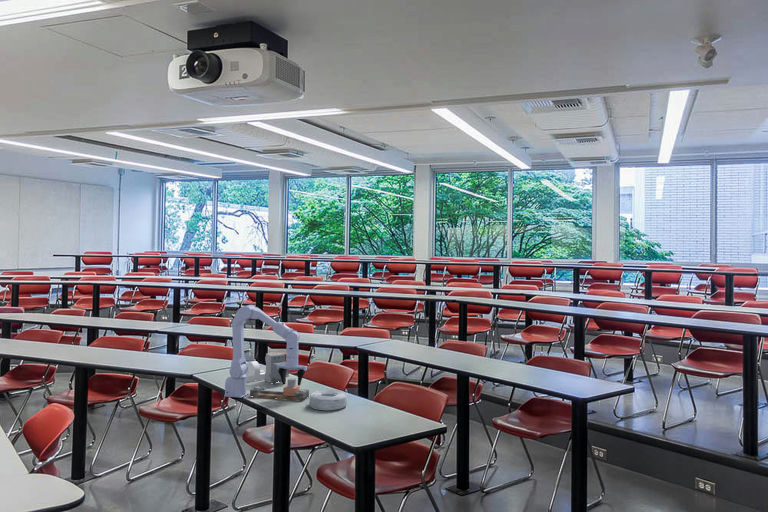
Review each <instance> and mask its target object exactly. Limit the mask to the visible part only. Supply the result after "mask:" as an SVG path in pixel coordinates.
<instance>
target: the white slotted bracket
mask: <svg viewBox="0 0 768 512" xmlns="http://www.w3.org/2000/svg"><path fill="white" fill-rule="evenodd" d="M246 364H247V365H248V371H247V372H246V382H248V383H251V382H250V381H255V380H261V381H263V380H262V379H265V373H266V370H264V369H261V366H260V364H259V362H258V361H256V360H253V361H248V362H246ZM255 382H256V381H255Z"/></svg>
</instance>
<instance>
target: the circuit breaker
mask: <svg viewBox="0 0 768 512" xmlns="http://www.w3.org/2000/svg"><path fill="white" fill-rule="evenodd" d="M264 362H265V372H266V373H265V380H266V381H267V382H270V383H276V382H278V381H279V382H282V379H281V376H280V374H279V372H278V370H279V369H277V365H278V364H286V354H284V353H281V352H272V353H265V357H264ZM289 377H290V369H287V370H286V378H289ZM265 380H264V381H265ZM266 381H265V382H266ZM267 382H266V383H267ZM270 383H269V384H270Z"/></svg>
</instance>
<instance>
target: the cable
mask: <svg viewBox="0 0 768 512" xmlns="http://www.w3.org/2000/svg"><path fill="white" fill-rule="evenodd" d="M348 402H349V401H348V397H347V393H346V392H345V391H343V390H339V389H335V388H334V389H332V388H331V389H330V388H329V389H328V388H327V389H320V390H316V391H313V392H312V393H311V394H309V402H308V403H309V404H308V405H309V406H310V408H312V409H314V410H318V411H319V410H320V411H334V410H335V411H336V410H340V409H344V408H345V407H346V406H347V405H348Z"/></svg>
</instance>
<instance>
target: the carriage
mask: <svg viewBox="0 0 768 512" xmlns="http://www.w3.org/2000/svg"><path fill="white" fill-rule="evenodd" d="M296 383H297V379H296V378H291V377H290V378H288V379H287V385H285V386H284V387H283V389H282V390H283V391H282V392H283V395H286V396H295V393H296V392H298V391H299V390H301V389H300V386H301V385H299V386H298V385H297V384H296Z"/></svg>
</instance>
